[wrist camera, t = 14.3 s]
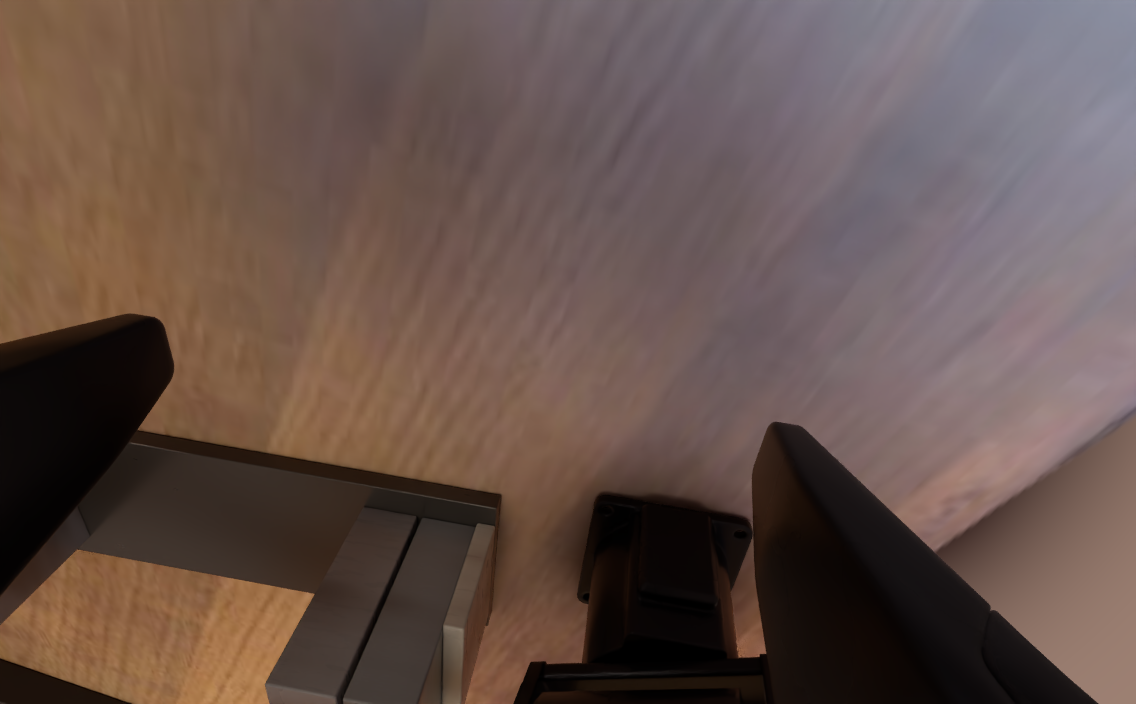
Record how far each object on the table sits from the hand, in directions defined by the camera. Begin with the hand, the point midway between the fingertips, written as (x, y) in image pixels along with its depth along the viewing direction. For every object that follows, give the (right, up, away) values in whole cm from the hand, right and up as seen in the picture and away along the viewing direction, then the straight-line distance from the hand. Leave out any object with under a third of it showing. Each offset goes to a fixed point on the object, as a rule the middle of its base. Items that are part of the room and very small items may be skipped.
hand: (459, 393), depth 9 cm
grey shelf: (-14, -7, +20) cm, 26 cm away
